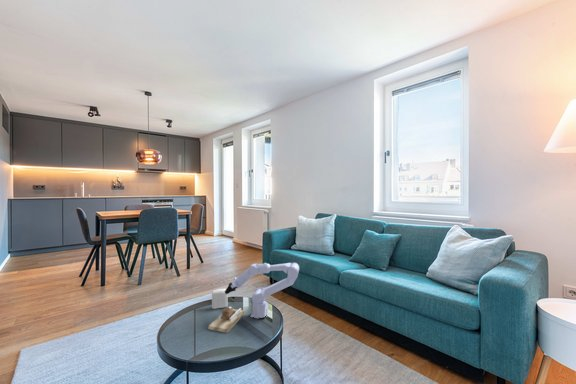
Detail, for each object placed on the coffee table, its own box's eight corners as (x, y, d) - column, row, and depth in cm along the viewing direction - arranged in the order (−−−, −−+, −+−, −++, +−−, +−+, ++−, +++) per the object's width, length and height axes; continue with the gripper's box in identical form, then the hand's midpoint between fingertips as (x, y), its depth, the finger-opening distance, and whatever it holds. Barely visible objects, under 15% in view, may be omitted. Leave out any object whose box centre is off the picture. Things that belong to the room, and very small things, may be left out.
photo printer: (227, 304, 182) (227, 286, 181) (228, 307, 177) (227, 289, 177) (211, 306, 178) (211, 288, 178) (212, 309, 174) (211, 291, 173)
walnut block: (232, 316, 162) (232, 308, 162) (229, 320, 157) (229, 312, 157) (226, 315, 163) (226, 307, 163) (222, 319, 159) (222, 311, 158)
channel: (241, 311, 169) (241, 308, 168) (231, 321, 156) (231, 318, 156) (230, 309, 171) (230, 306, 171) (219, 319, 159) (219, 316, 158)
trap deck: (244, 313, 169) (244, 310, 169) (227, 332, 148) (227, 329, 148) (228, 311, 173) (228, 308, 172) (208, 329, 152) (208, 325, 151)
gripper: (244, 270, 175) (230, 283, 177) (234, 275, 161) (219, 289, 163) (250, 279, 174) (236, 291, 176) (241, 285, 160) (225, 298, 162)
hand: (228, 291), depth 169 cm, fingers open, 7 cm apart
